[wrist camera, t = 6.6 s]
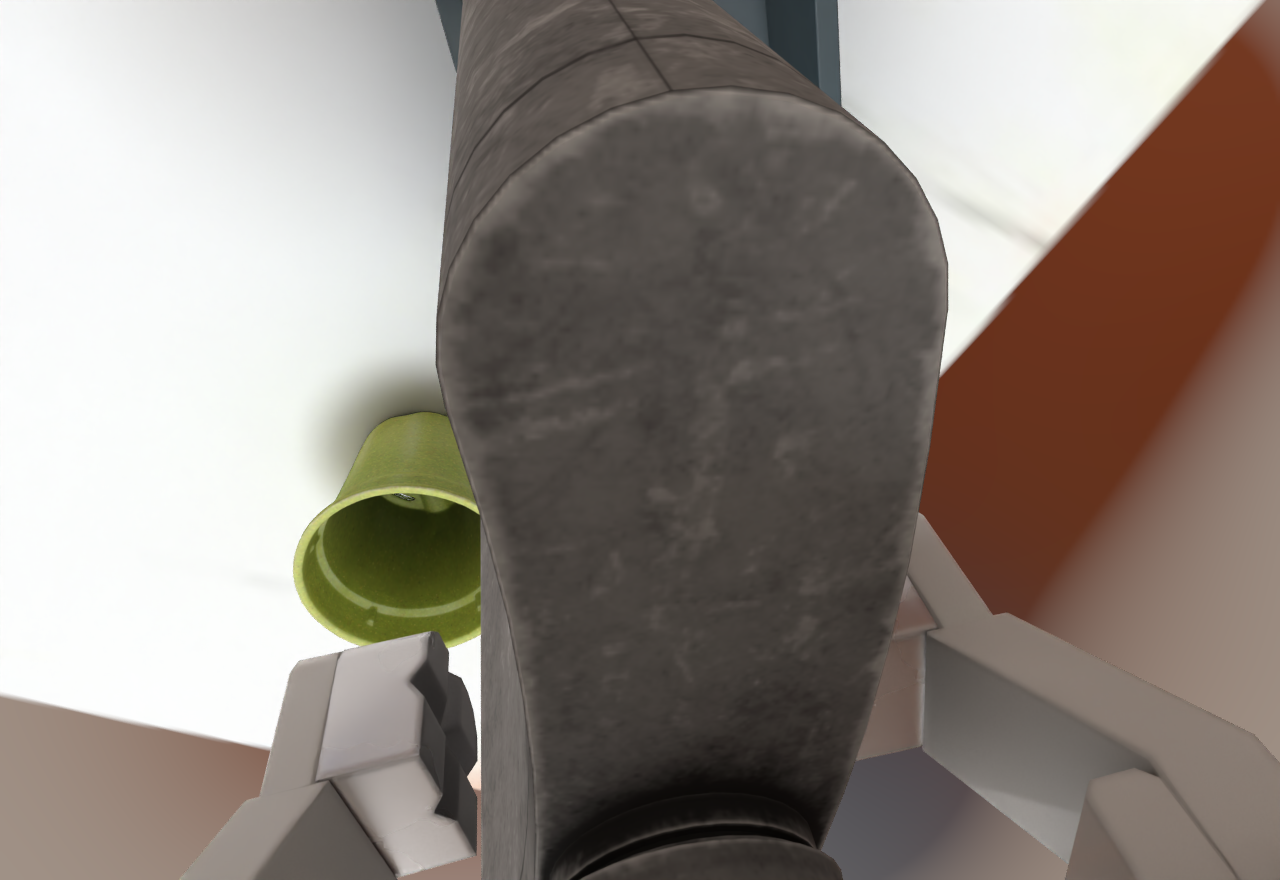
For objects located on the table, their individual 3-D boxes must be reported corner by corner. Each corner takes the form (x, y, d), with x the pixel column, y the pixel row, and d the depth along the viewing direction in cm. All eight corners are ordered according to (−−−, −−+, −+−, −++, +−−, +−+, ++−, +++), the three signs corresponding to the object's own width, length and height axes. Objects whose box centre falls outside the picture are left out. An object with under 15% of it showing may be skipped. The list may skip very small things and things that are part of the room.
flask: (653, -116, 17) (1689, 338, 2) (605, 456, 25) (771, 1305, 11) (464, -134, 16) (348, 330, 2) (481, 459, 24) (484, 1365, 10)
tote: (392, -203, 28) (370, -220, 22) (760, -285, 28) (825, -320, 23) (549, 353, 40) (559, 428, 35) (802, 293, 41) (851, 358, 35)
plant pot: (294, 490, 42) (256, 615, 35) (375, 347, 39) (351, 454, 32) (460, 553, 46) (456, 676, 39) (549, 428, 43) (562, 540, 36)
